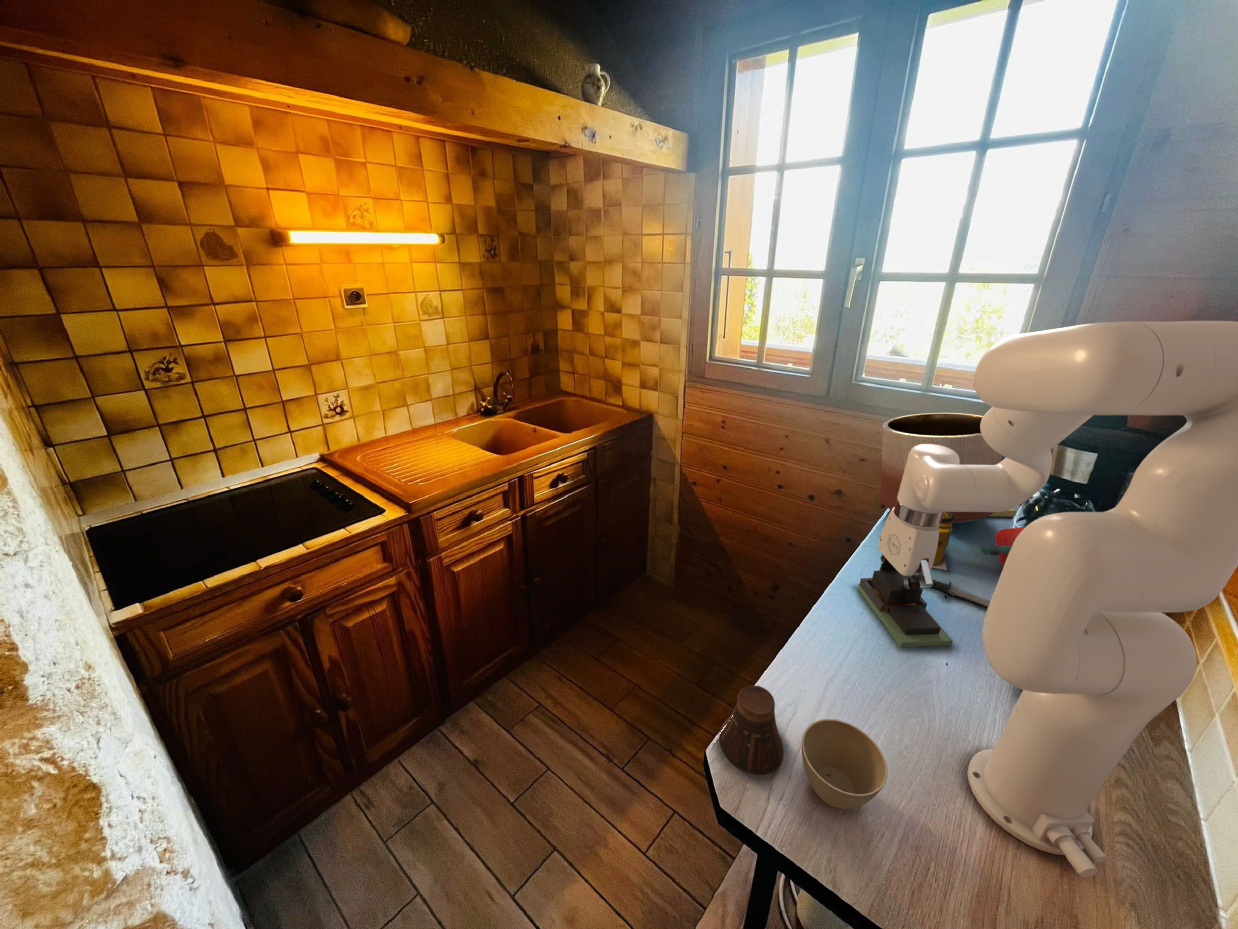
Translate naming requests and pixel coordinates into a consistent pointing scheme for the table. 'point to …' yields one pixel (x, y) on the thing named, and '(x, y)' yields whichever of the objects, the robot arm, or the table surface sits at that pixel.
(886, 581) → the loose pad
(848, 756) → the beige bowl
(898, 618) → the dock
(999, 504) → the robot arm
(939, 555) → the condiment
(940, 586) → the knife
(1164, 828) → the table surface
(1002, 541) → the toy
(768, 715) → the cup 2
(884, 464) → the planter
